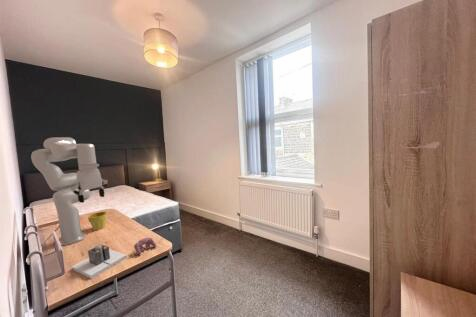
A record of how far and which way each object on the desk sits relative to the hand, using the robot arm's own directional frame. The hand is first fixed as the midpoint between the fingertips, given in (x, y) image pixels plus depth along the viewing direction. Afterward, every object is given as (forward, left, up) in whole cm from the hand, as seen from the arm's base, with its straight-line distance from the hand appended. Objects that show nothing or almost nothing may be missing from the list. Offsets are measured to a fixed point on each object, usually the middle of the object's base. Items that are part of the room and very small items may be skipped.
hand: (92, 199), depth 104 cm
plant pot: (-30, +16, -28) cm, 44 cm away
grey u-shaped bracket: (+14, -7, -27) cm, 31 cm away
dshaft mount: (+14, -7, -28) cm, 32 cm away
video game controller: (+25, +10, -29) cm, 39 cm away
